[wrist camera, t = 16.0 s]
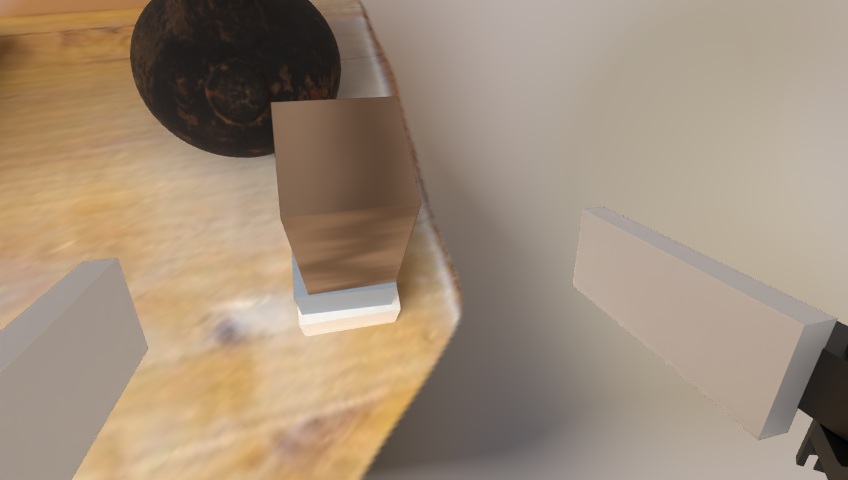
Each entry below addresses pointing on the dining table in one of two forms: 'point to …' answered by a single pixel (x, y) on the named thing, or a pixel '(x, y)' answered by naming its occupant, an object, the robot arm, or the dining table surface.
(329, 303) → the tower top block
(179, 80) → the dark brown bulbous vessel
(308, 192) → the walnut block
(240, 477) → the dining table surface
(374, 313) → the tower base block
